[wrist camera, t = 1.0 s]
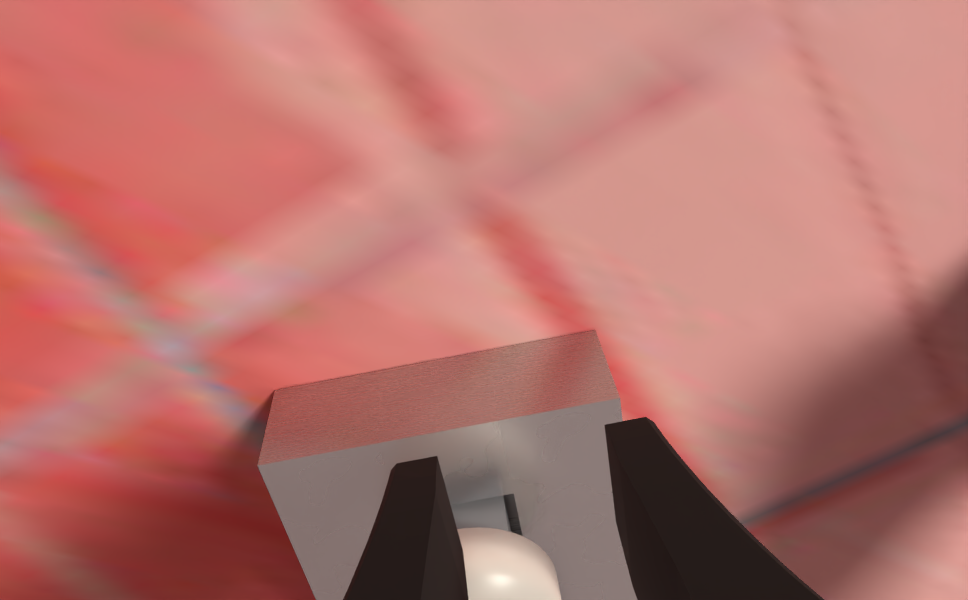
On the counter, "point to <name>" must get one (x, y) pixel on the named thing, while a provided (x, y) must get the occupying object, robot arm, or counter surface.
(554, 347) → the panel
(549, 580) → the button ivory
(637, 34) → the counter surface
